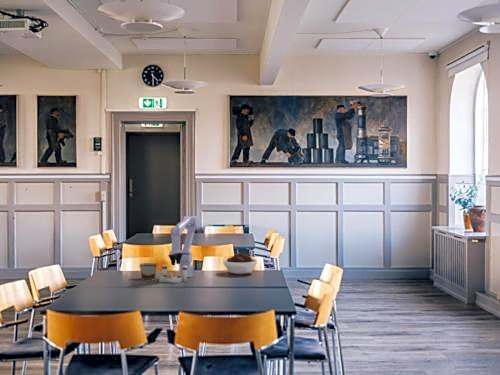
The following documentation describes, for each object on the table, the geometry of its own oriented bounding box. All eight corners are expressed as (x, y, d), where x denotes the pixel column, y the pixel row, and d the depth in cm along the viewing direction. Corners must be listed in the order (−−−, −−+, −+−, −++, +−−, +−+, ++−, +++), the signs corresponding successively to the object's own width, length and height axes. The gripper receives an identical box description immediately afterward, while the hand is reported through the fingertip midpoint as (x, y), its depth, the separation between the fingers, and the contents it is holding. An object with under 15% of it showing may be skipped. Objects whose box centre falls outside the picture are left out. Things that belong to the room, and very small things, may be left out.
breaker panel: (163, 280, 401) (163, 274, 401) (182, 281, 396) (182, 275, 396) (159, 281, 394) (159, 276, 394) (178, 282, 390) (178, 277, 390)
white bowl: (216, 274, 427) (216, 253, 427) (235, 269, 448) (235, 250, 448) (245, 277, 414) (245, 255, 414) (263, 272, 435) (263, 252, 435)
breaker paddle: (168, 276, 395) (168, 272, 395) (172, 276, 394) (172, 272, 394) (167, 276, 394) (167, 272, 394) (171, 277, 393) (171, 273, 393)
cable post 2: (185, 280, 400) (185, 265, 400) (188, 280, 398) (188, 266, 398) (181, 280, 398) (181, 266, 398) (184, 281, 396) (184, 266, 396)
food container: (159, 277, 412) (159, 263, 412) (156, 278, 406) (156, 264, 406) (141, 277, 413) (141, 262, 413) (139, 278, 407) (139, 264, 407)
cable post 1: (165, 279, 405) (165, 264, 405) (167, 279, 403) (167, 265, 403) (161, 279, 403) (161, 264, 403) (163, 280, 401) (163, 265, 400)
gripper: (175, 243, 410) (174, 263, 410) (165, 245, 397) (165, 265, 396) (184, 244, 408) (184, 263, 408) (175, 245, 394) (175, 265, 394)
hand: (175, 264), depth 402 cm, fingers open, 7 cm apart
